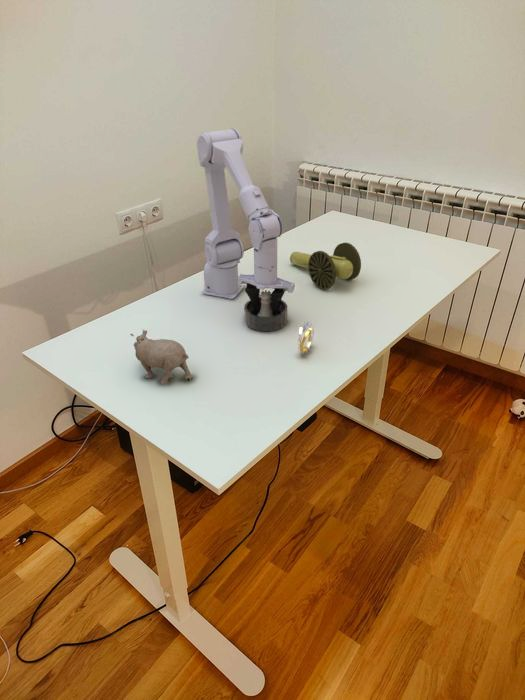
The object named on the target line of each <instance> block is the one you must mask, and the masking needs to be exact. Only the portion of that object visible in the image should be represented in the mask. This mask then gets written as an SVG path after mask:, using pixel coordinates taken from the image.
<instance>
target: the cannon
mask: <svg viewBox="0 0 525 700" xmlns="http://www.w3.org/2000/svg"><path fill="white" fill-rule="evenodd" d="M361 260H362V259H361V255H360V253H359V251H358V250H357V248H356V247H355V246H354V245H353V244H352V243H350V242H342V243H339V244H337V245H336V247H335V248H334V250H333V254H332V255H329V253H327V252H325V251H324V250H317V251H313V253H312V254H310V253H305V252H301V251H293V252H292V253H291V254H290V256H289V261H290V263H291V265H293V266H297V267H301V268H305V269H308V273H309V277H310V280H311V281H312V283H313V284H314V285H315V286H316V287H317V288H318V289H320V290H323V291H325V290H329V289H331V288H332V287H333V286H334V285H335V282H336V280H337V279H340V280H345V281H352V280H354V279H356V278H357V277H358V276H359V275H360V272H361V269H362V261H361Z"/></svg>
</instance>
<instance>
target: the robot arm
mask: <svg viewBox="0 0 525 700" xmlns="http://www.w3.org/2000/svg"><path fill="white" fill-rule="evenodd" d="M196 149H197V150H196V151H197V156H198V161H199V166H200V167H202V168H204V176H205V182H206V183H205V184H206V190H207V197H208V203H209V211H210V219H211V226H212V230H211V231H210V232H209V234H207V236H206V237H204V256H205V260H206V261H207V262H206V263H205V265H204V267H203V281H204V283H203V284H204V292H203V294H204V295H208V296H213V297H220V298H225V299H230V300H235V298H236V297H237V296H238V295H239V294H240V293H241V292H242V291H243V289H244V292H245V294H246V295H247V297H248V298H249V300H251V303H252V305H253V309H254V312H257V311H258V310H259V307H260V299H259V297H260V294H261V290H265V289H273V290H272V292H271V298H272V305H273V306H272V314H273V315H274V316H275V315H276V314H277V312H278V308H279V304H280V301H281V300H283V297H284V295H285V292H287V293H290V294H292V293H293V292H294V291H295V282H292V281H288V280H286V279H283V278H280V277H278V238H281V236H282V235H283V231H284V227H283V222H282V218H281V216H280V215H279V214H278V213H276V212H275V211H274V209H272V208H270V206H269V204H268V202H267V200H266V198H265V196H264V194H263V193H262V190H261V188H260V187H259V186H256V185H254V183H253V181H252V178H251V176H250V173H249V171H248V167H247V164H246V162H245V159H244V158H243V157H244V156H243V152H244V141H243V139H242V136H241V133H240V132H239V130H238V129H237V128H235V127H233V128H230V129H222V130H215V131H209V132H206V131H203V132H200V133H199V135H198V138H197V140H196ZM225 169H226V170H227V172H228V173H229V176H230V177H231V179H232V180H233V182H234V184H235V186H236V188H237V189H238V191H239V195H238V201H239V204H240V206H241V208H242V210H243V212H244V214H245V216H246V218H247V221H248V223H249V224H248V227H247V229H248V234H249V237H250V241H251V242H250V243H251V247H252V248H253V274H242V273H240V274H239V264H240V263H241V260H242V259H243V257H244V254H245V253H244V252H245V249H244V245H243V242H242V239H241V234H240V233H239V232H238V231H237V230H234V229H232V222H231V213H230V205H229V197H228V189H227V182H226V181H227V180H226V173H225ZM243 284H244V285H246V286H244V285H243Z"/></svg>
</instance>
